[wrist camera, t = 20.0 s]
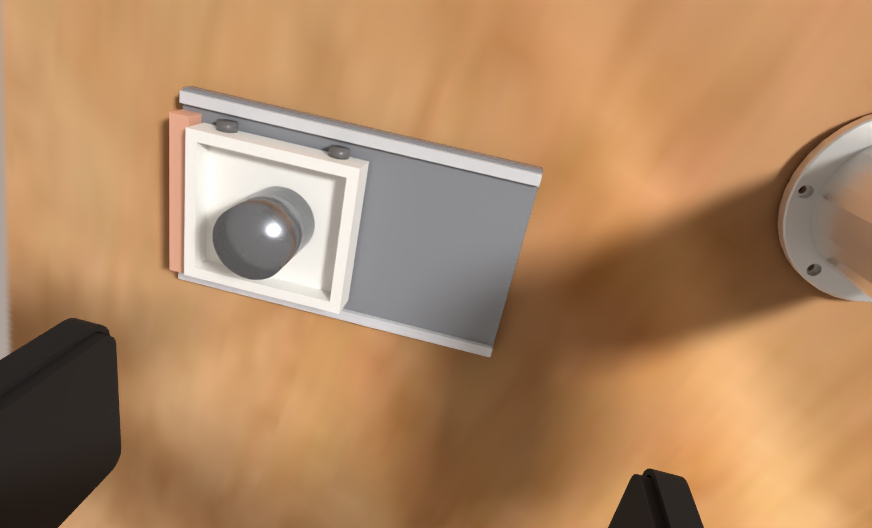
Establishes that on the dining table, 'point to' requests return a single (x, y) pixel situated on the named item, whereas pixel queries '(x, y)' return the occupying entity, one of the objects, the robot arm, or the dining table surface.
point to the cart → (258, 169)
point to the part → (263, 232)
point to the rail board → (394, 221)
